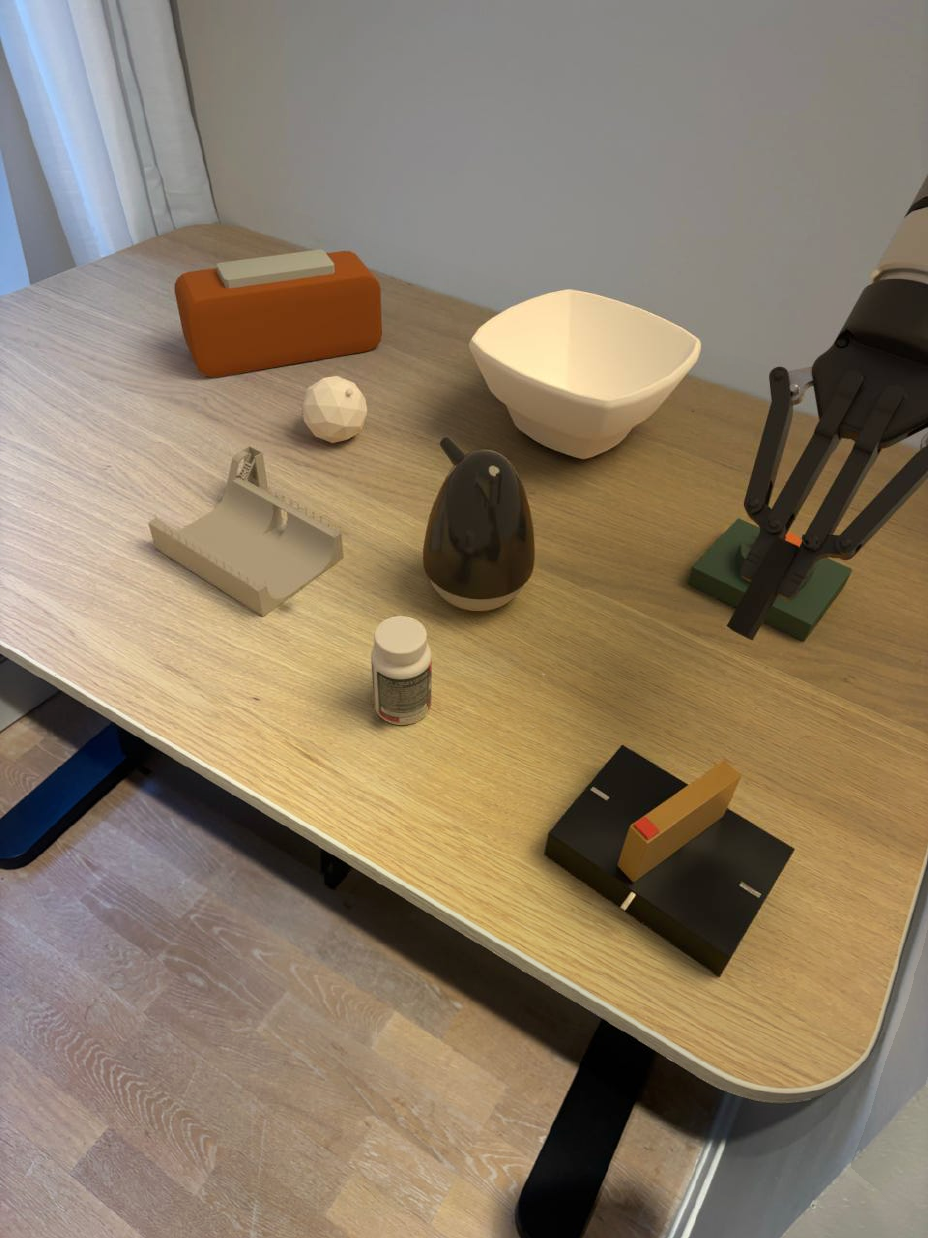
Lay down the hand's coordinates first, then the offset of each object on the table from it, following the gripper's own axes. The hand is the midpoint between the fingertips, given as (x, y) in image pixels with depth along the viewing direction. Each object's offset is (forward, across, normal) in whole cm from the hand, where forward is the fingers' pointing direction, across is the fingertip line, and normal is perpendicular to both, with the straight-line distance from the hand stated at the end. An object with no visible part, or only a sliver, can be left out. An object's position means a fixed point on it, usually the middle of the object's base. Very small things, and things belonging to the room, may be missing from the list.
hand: (739, 633), depth 57 cm
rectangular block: (+15, -2, -3) cm, 15 cm away
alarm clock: (-7, +73, -30) cm, 79 cm away
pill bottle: (+18, +22, -5) cm, 28 cm away
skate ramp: (+13, +46, -9) cm, 48 cm away
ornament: (0, +54, -23) cm, 58 cm away
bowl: (-14, +34, -36) cm, 51 cm away
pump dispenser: (+7, +26, -16) cm, 31 cm away
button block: (-7, +5, -29) cm, 30 cm away
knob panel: (+17, -2, -6) cm, 18 cm away
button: (-9, +5, -26) cm, 28 cm away
